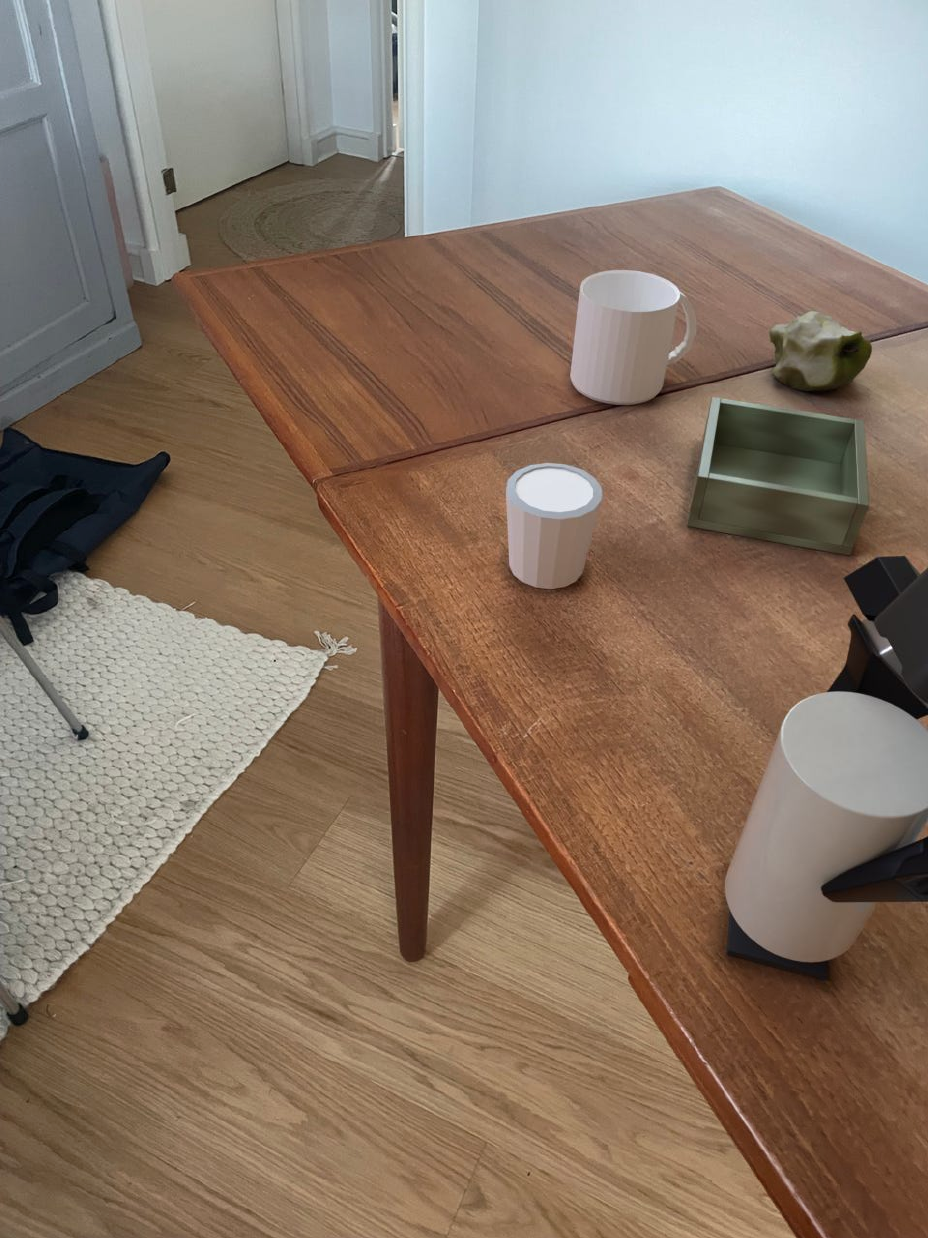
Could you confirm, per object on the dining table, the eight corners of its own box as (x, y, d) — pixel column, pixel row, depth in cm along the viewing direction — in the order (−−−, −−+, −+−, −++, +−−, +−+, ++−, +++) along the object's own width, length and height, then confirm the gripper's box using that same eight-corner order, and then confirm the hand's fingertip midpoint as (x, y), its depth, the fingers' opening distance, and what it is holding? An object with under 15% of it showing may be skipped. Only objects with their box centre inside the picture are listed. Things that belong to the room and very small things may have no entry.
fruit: (863, 416, 90) (884, 347, 84) (762, 411, 92) (776, 343, 86) (857, 355, 96) (876, 286, 89) (762, 353, 97) (775, 284, 91)
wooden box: (847, 468, 81) (864, 420, 78) (849, 556, 72) (869, 505, 69) (701, 444, 84) (711, 396, 80) (686, 526, 75) (697, 475, 71)
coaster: (826, 896, 51) (828, 891, 50) (826, 981, 47) (829, 976, 47) (732, 872, 52) (734, 867, 51) (726, 954, 48) (728, 950, 48)
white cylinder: (746, 823, 51) (803, 670, 43) (874, 877, 49) (960, 726, 40) (706, 923, 47) (761, 774, 38) (845, 988, 44) (935, 844, 36)
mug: (579, 407, 88) (591, 313, 81) (562, 361, 94) (571, 270, 88) (703, 403, 89) (724, 309, 82) (677, 358, 95) (695, 268, 89)
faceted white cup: (562, 527, 74) (571, 452, 69) (609, 579, 70) (622, 502, 65) (485, 550, 72) (488, 474, 67) (528, 605, 67) (535, 527, 63)
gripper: (958, 396, 39) (655, 601, 46) (1264, 749, 25) (765, 964, 32) (1057, 541, 44) (774, 704, 51) (1350, 892, 31) (911, 1048, 38)
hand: (799, 825), depth 43 cm, fingers closed on white cylinder, 7 cm apart
